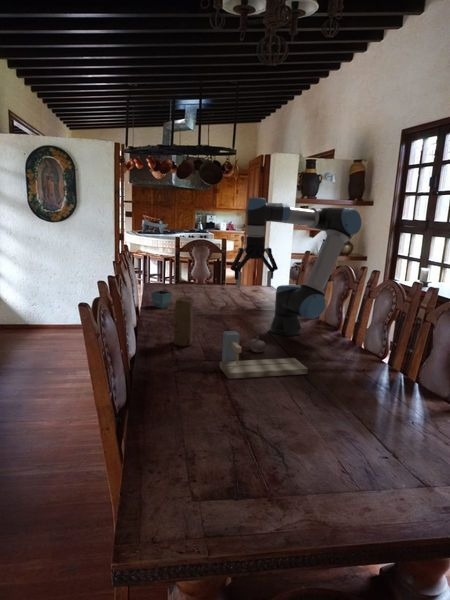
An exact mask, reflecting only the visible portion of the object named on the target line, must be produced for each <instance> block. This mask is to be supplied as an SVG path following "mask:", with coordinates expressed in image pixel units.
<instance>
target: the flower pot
mask: <svg viewBox="0 0 450 600" xmlns="http://www.w3.org/2000/svg"><path fill="white" fill-rule="evenodd" d="M150 294H151V296H150V297H151V301H152V304H153V306H154V307H155V308H159V309H164V308H167V307H168V306H169V305H170V303H171V300H172V295H173V293H172V291H166V290H160V289H159V290H156V291H151V292H150Z"/></svg>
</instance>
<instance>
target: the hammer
mask: <svg viewBox="0 0 450 600" xmlns="http://www.w3.org/2000/svg"><path fill="white" fill-rule="evenodd" d="M222 335H223V336H222V353H221V357H222V358H221V362H225V361H236V364H238V361H239V357H240V354H241V353H242V352H243V351H242V349H243V347H242V346H241V345H240V336H241V335H240V333H238V331H236V330H229V331H228V330H224V331H223V332H222Z"/></svg>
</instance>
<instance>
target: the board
mask: <svg viewBox="0 0 450 600" xmlns="http://www.w3.org/2000/svg"><path fill="white" fill-rule="evenodd" d="M219 368H220V370H221V371H222V372H223V374H224V375H225V376H226V377H227V379H245V378H246V379H247V378H261V377H262V378H263V377H264V378H265V377H275V376H276V377H277V376H278V377H279V376H295V375H308V371H309V370H308V367H306V366H305V365H304V364H302V363H301V362H300V361H299V360H298V359H296V358H295V357H287V358H270V359H269V358H268V359H251V360H249V359H248V360H247V359H246V360H238V364H236V361H225V362H222V361H219Z"/></svg>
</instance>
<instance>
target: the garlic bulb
mask: <svg viewBox="0 0 450 600" xmlns="http://www.w3.org/2000/svg"><path fill="white" fill-rule="evenodd" d="M256 334H257V335H256V338H253V339H251V341H250V342H249V347H250V349H251V351H252V352H254V353H264V351H265V350H266V343H265V341H264V340H261V339H260V335H261V332H259V331H258V332H257V333H256Z"/></svg>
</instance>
